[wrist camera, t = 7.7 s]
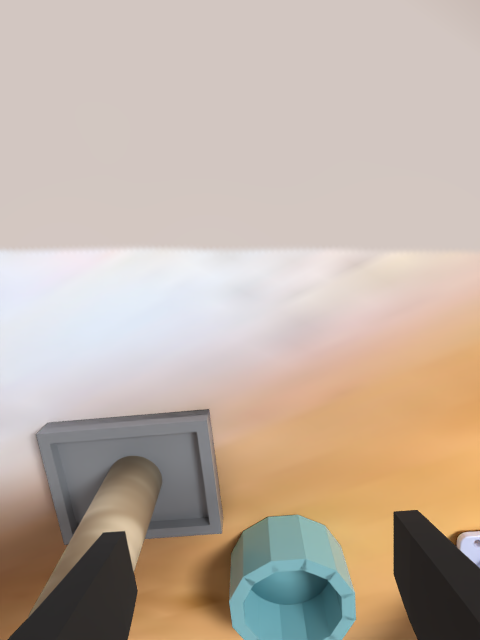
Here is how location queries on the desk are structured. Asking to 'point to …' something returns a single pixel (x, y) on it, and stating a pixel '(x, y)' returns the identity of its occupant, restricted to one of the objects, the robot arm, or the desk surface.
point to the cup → (290, 582)
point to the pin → (113, 514)
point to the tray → (145, 441)
